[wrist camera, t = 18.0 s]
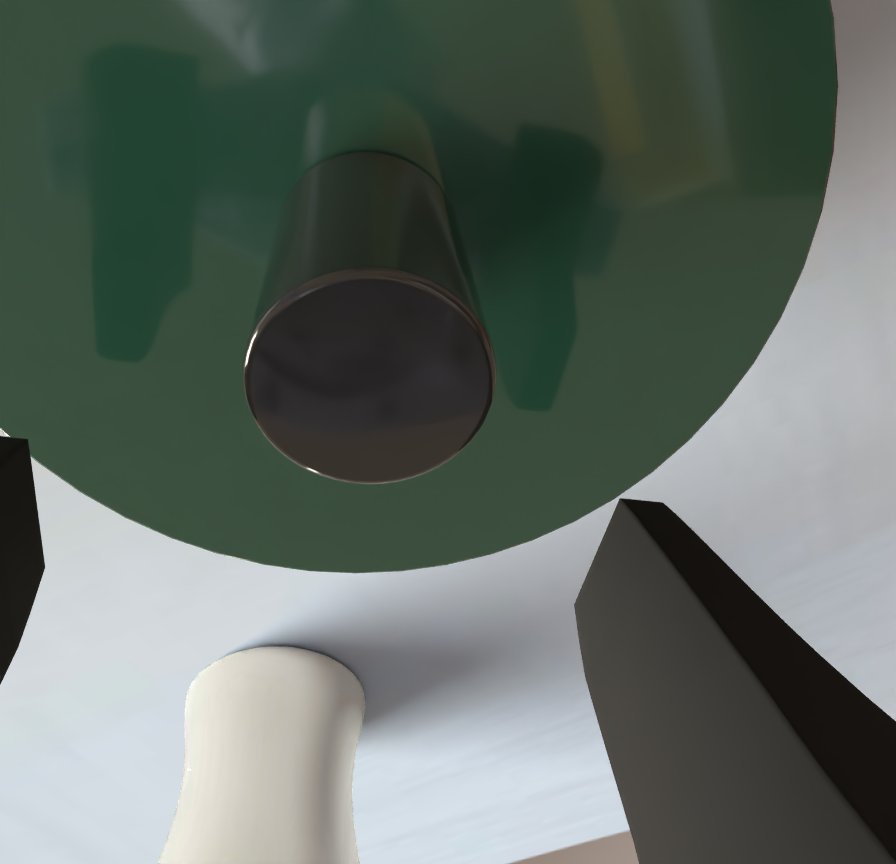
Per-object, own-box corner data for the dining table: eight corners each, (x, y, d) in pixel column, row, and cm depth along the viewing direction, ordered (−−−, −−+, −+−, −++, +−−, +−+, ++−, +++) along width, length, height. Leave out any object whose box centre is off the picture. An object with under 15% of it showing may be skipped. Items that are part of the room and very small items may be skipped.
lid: (-271, 256, 10) (-628, 468, 7) (257, -911, 6) (69, -2377, 2) (408, 619, 16) (422, 847, 12) (953, 175, 11) (1247, 320, 8)
